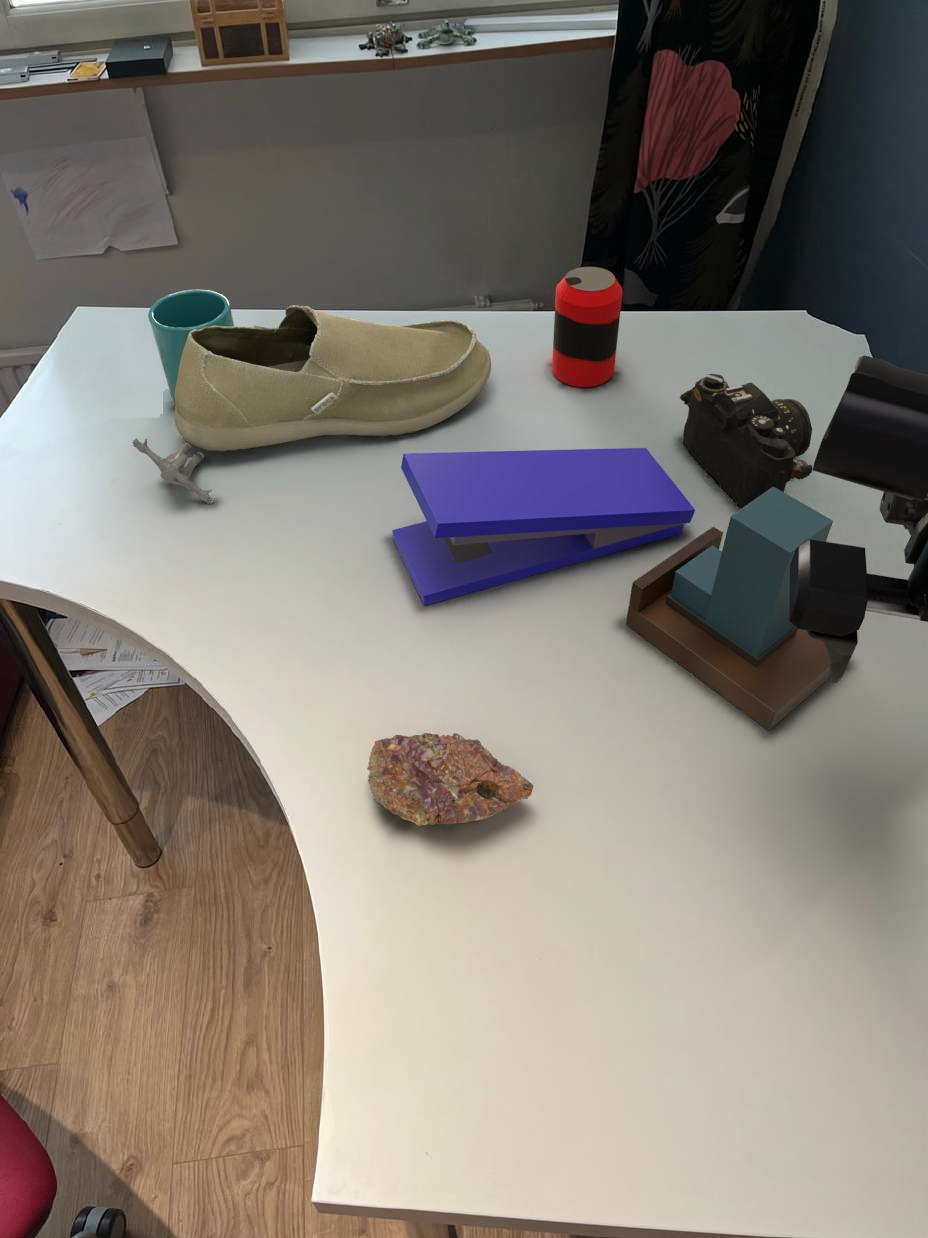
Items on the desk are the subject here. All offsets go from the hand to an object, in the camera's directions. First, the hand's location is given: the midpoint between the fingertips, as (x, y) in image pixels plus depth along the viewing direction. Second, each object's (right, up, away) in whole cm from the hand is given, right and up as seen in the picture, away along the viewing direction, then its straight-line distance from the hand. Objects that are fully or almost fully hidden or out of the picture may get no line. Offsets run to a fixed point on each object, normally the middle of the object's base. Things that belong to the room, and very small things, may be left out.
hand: (903, 690), depth 63 cm
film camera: (+1, +21, +38) cm, 43 cm away
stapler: (-22, +13, +31) cm, 40 cm away
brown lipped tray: (-6, +3, +20) cm, 21 cm away
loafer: (-44, +29, +46) cm, 70 cm away
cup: (-61, +33, +50) cm, 86 cm away
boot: (-6, +5, +19) cm, 21 cm away
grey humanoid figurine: (-61, +19, +38) cm, 74 cm away
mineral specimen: (-31, -9, +10) cm, 34 cm away
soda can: (-15, +35, +51) cm, 64 cm away
